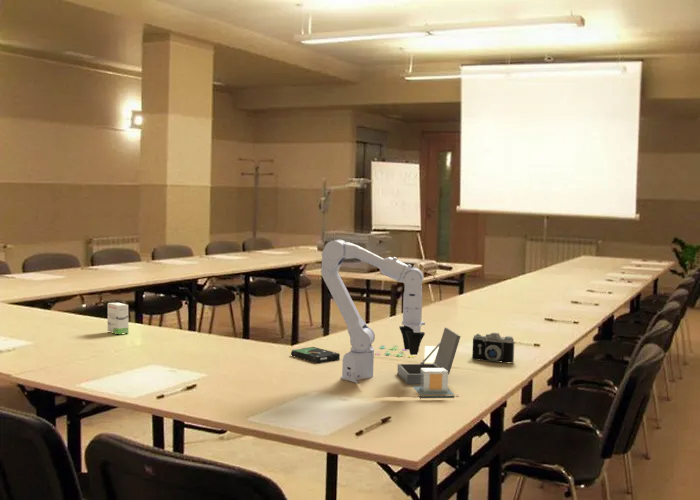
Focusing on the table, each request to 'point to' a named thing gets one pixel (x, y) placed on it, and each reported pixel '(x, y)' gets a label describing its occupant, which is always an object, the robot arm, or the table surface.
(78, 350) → the table surface
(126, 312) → the ink box
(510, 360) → the camera
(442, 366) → the case
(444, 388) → the module
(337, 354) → the disk drive
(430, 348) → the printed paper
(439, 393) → the mat
